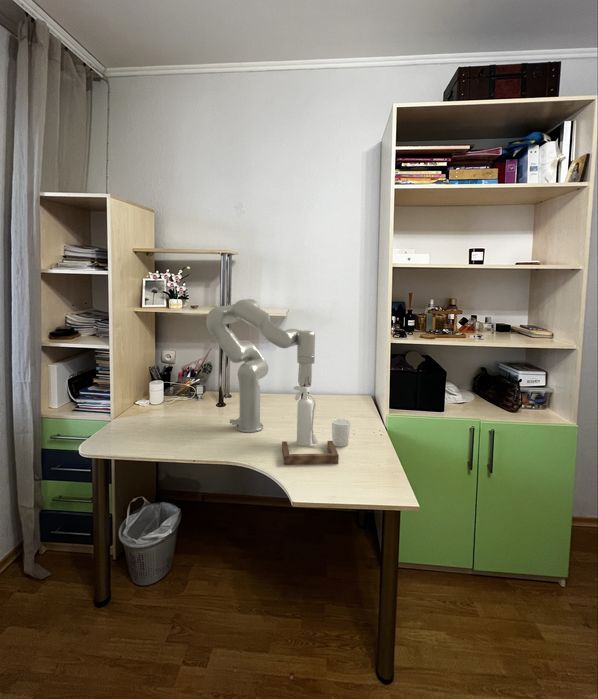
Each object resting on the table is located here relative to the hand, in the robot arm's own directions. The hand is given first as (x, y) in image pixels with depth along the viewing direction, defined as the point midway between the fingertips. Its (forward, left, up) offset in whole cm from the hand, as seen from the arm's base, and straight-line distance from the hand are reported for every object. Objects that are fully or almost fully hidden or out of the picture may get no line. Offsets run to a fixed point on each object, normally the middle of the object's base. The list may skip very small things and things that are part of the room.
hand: (304, 400), depth 201 cm
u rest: (0, -21, -17) cm, 27 cm away
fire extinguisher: (0, -7, -17) cm, 19 cm away
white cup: (+15, -8, -17) cm, 24 cm away
